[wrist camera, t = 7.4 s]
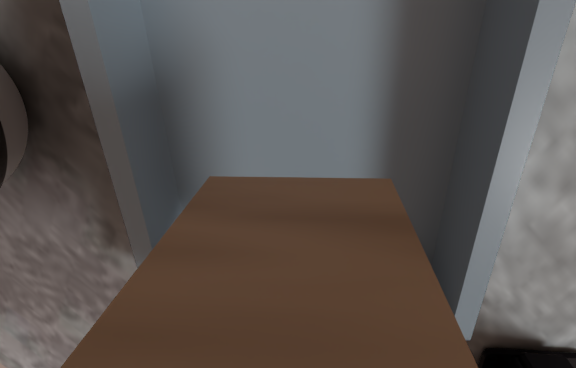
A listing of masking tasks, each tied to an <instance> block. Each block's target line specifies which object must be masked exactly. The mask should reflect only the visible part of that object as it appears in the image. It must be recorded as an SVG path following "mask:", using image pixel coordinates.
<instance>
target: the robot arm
mask: <svg viewBox="0 0 576 368" xmlns="http://www.w3.org/2000/svg"><path fill="white" fill-rule="evenodd" d="M478 368H576V353H564V352H548V351H532V350H515V349H499V348H488V349H486V350H484V351H483V352H482V355H481V358H480V361H479V364H478Z"/></svg>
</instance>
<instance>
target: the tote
mask: <svg viewBox="0 0 576 368" xmlns="http://www.w3.org/2000/svg"><path fill="white" fill-rule="evenodd" d="M59 2H60V5H61V9H62V12H63V15H64V19H65V22H66V26H67V29H68V32H69V36H70V39H71V43H72V46H73V50H74V53H75V56H76V60H77V63H78V67H79V70H80V74H81V77H82V80H83V84H84V87H85V91H86V94H87V97H88V101H89V104H90V108H91V111H92V115H93V118H94V121H95V125H96V128H97V132H98V135H99V139H100V142H101V145H102V149H103V152H104V156H105V159H106V162H107V166H108V169H109V173H110V176H111V180H112V183H113V186H114V190H115V193H116V197H117V200H118V204H119V207H120V210H121V214H122V217H123V221H124V224H125V227H126V231H127V234H128V238H129V241H130V245H131V248H132V251H133V255H134V258H135V262H136V265H137V269H138V268H139V266H140V265H141V264H142V262H143V261H144V260H145V259H146V257H147V256H148V255H149V253H150V252H151V251H152V250H153V248H154V247H155V246H156V244H157V243H158V242H159V241H160V239H161V238H162V237H163V235H164V234H165V233H166V232H167V230H168V229H169V228H170V226H171V225H172V224H173V223H174V221H175V220H176V219H177V217H178V216H179V215H180V214H181V212H182V211H183V210H184V208H185V207H186V206H187V205H188V203H189V202H190V201H191V199H192V198H193V197H194V196H195V194H196V193H197V192H198V191H199V189H200V188H201V187H202V185H203V184H204V183H205V182H206V180H207V179H208V178H209V176H228V177H306V178H384V179H391V180H392V182H393V184H394V186H395V189H396V191H397V193H398V195H399V197H400V199H401V202H402V204H403V206H404V208H405V210H406V212H407V215H408V217H409V219H410V221H411V223H412V225H413V228H414V230H415V232H416V234H417V236H418V238H419V241H420V243H421V245H422V247H423V249H424V251H425V254H426V256H427V258H428V260H429V262H430V264H431V266H432V269H433V271H434V273H435V275H436V277H437V279H438V282H439V284H440V286H441V288H442V290H443V292H444V295H445V297H446V299H447V301H448V303H449V305H450V308H451V310H452V312H453V314H454V316H455V318H456V321H457V323H458V325H459V327H460V329H461V331H462V334H463V336H464V338H465V340H471V337H472V334H473V330H474V327H475V324H476V321H477V318H478V314H479V311H480V308H481V305H482V301H483V298H484V295H485V292H486V289H487V285H488V282H489V279H490V276H491V273H492V269H493V266H494V263H495V260H496V256H497V253H498V250H499V247H500V244H501V240H502V237H503V234H504V231H505V227H506V224H507V221H508V218H509V215H510V211H511V208H512V205H513V202H514V199H515V195H516V192H517V189H518V186H519V182H520V179H521V176H522V173H523V170H524V166H525V163H526V160H527V157H528V154H529V150H530V147H531V144H532V141H533V137H534V134H535V131H536V128H537V125H538V121H539V118H540V115H541V112H542V108H543V105H544V102H545V99H546V96H547V92H548V89H549V86H550V83H551V80H552V76H553V73H554V70H555V67H556V63H557V60H558V57H559V54H560V51H561V47H562V44H563V41H564V38H565V35H566V31H567V28H568V25H569V22H570V18H571V15H572V12H573V9H574V6H575V2H576V0H59Z"/></svg>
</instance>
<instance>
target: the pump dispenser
mask: <svg viewBox="0 0 576 368" xmlns="http://www.w3.org/2000/svg"><path fill="white" fill-rule="evenodd" d="M27 139H28V120H27V114H26V110H25V106H24V103H23V100H22V98H21V95H20V93H19V91H18V89H17V87H16V86H15V84H14V82H13V81H12V79H11V78H10V76H9V74H8V73H7V72H6V71H5V69H4V68H3V67H2V65H1V64H0V188H1V186H2V184H3V183H4V182H5V181H6V180H7V179H8V178H9V177H10V176H11V174H12V173H13V172H14V171H15V169H16V168H17V166H18V165H19V163H20V161H21V159H22V157H23V154H24V152H25V149H26V145H27Z"/></svg>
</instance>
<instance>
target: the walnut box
mask: <svg viewBox="0 0 576 368" xmlns="http://www.w3.org/2000/svg"><path fill="white" fill-rule="evenodd" d="M61 368H478V366H477V364H476V362H475V360H474V357H473V355H472V353H471V351H470V349H469V347H468V344H467V342H466V340H465V338H464V336H463V334H462V331H461V329H460V327H459V325H458V323H457V321H456V318H455V316H454V314H453V312H452V310H451V308H450V305H449V303H448V301H447V299H446V297H445V295H444V292H443V290H442V288H441V286H440V284H439V282H438V279H437V277H436V275H435V273H434V271H433V269H432V266H431V264H430V262H429V260H428V258H427V256H426V254H425V251H424V249H423V247H422V245H421V243H420V241H419V238H418V236H417V234H416V232H415V230H414V228H413V225H412V223H411V221H410V219H409V217H408V215H407V212H406V210H405V208H404V206H403V204H402V202H401V199H400V197H399V195H398V193H397V191H396V189H395V186H394V184H393V182H392V180H391V179H384V178H306V177H228V176H209V178H208V179H207V180H206V182H205V183H204V184H203V185H202V187H201V188H200V189H199V191H198V192H197V193H196V194H195V196H194V197H193V198H192V199H191V201H190V202H189V203H188V205H187V206H186V207H185V208H184V210H183V211H182V212H181V214H180V215H179V216H178V217H177V219H176V220H175V221H174V223H173V224H172V225H171V226H170V228H169V229H168V230H167V232H166V233H165V234H164V235H163V237H162V238H161V239H160V241H159V242H158V243H157V244H156V246H155V247H154V248H153V250H152V251H151V252H150V253H149V255H148V256H147V257H146V259H145V260H144V261H143V262H142V264H141V265H140V266H139V268H138V269H137V270H136V271H135V273H134V274H133V275H132V277H131V278H130V279H129V280H128V282H127V283H126V284H125V286H124V287H123V288H122V289H121V291H120V292H119V293H118V295H117V296H116V297H115V298H114V300H113V301H112V302H111V304H110V305H109V306H108V307H107V309H106V310H105V311H104V313H103V314H102V315H101V316H100V318H99V319H98V320H97V322H96V323H95V324H94V325H93V327H92V328H91V329H90V331H89V332H88V333H87V334H86V336H85V337H84V338H83V340H82V341H81V342H80V343H79V345H78V346H77V347H76V348H75V350H74V351H73V352H72V354H71V355H70V356H69V357H68V359H67V360H66V361H65V363H64V364H63V365H62V366H61Z"/></svg>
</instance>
